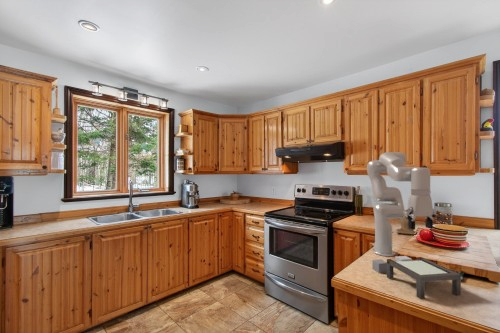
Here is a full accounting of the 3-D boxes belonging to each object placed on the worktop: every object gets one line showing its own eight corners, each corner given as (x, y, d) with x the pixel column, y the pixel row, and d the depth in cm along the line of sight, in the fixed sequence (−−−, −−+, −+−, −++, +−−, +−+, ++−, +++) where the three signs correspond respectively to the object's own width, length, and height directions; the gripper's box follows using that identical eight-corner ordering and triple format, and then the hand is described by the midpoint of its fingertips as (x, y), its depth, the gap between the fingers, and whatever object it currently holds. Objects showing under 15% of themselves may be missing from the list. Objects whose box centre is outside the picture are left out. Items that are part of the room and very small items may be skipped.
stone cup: (413, 232, 197) (413, 214, 197) (419, 236, 186) (419, 217, 186) (393, 230, 202) (393, 213, 202) (397, 234, 190) (397, 216, 190)
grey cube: (372, 269, 126) (372, 259, 126) (380, 268, 127) (380, 259, 127) (378, 273, 122) (378, 263, 122) (387, 272, 122) (387, 263, 122)
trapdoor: (388, 260, 120) (388, 256, 120) (412, 259, 122) (412, 255, 122) (420, 278, 101) (420, 274, 101) (448, 276, 103) (448, 272, 103)
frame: (386, 277, 117) (386, 259, 117) (421, 274, 120) (421, 257, 120) (420, 299, 98) (420, 277, 98) (460, 295, 100) (460, 274, 100)
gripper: (428, 191, 118) (428, 225, 118) (398, 192, 115) (398, 227, 115) (443, 193, 111) (443, 229, 111) (411, 194, 108) (411, 231, 108)
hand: (420, 228), depth 113 cm, fingers open, 9 cm apart
